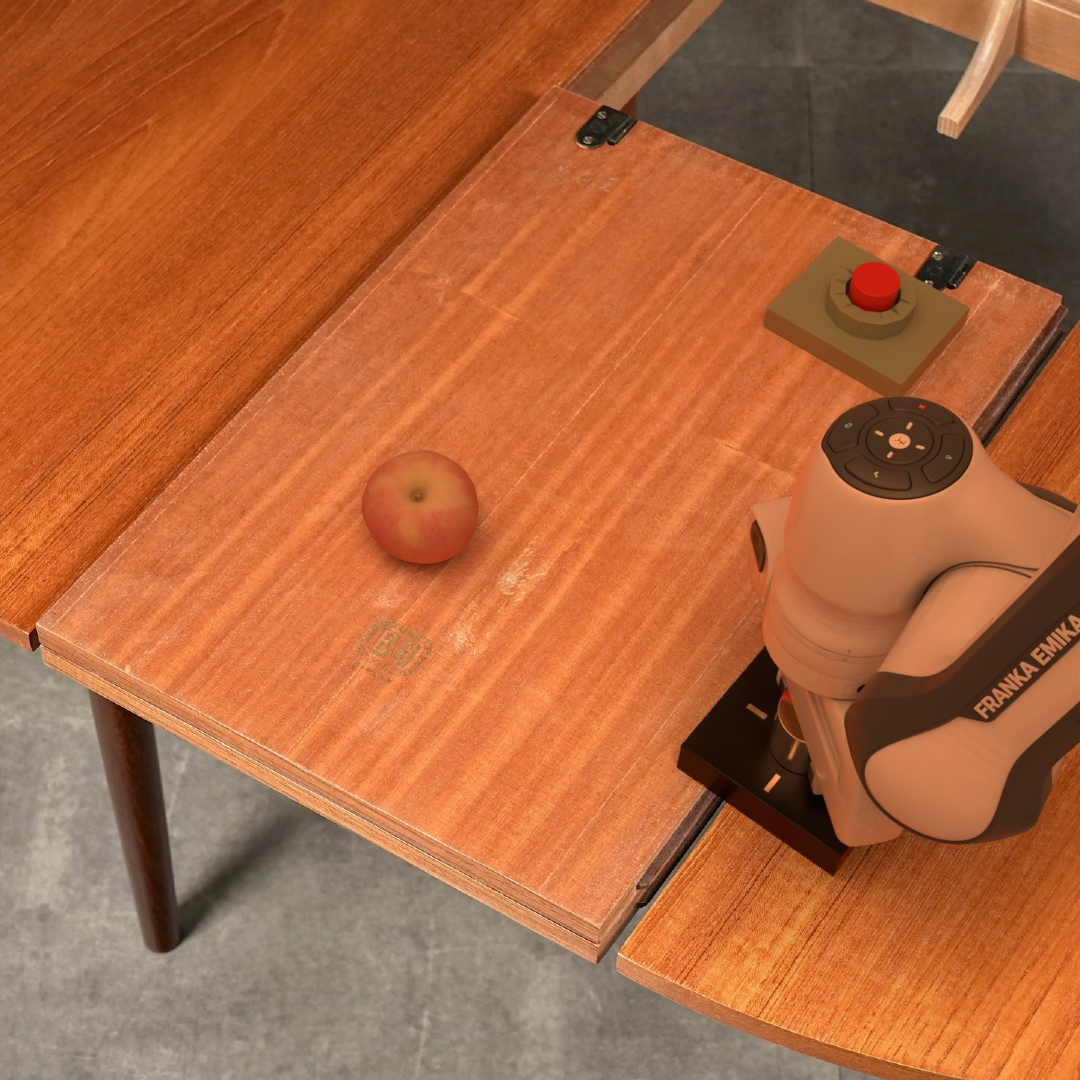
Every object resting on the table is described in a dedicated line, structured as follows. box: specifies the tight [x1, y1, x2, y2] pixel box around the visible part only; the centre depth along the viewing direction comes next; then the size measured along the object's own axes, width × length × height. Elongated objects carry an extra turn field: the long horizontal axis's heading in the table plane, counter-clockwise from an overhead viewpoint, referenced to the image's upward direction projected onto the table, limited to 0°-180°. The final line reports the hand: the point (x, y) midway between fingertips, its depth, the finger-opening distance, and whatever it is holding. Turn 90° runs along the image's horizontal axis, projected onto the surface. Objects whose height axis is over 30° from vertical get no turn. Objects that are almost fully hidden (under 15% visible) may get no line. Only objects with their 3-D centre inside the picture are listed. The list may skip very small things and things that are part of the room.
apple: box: [361, 449, 479, 565], centre depth 115 cm, size 8×8×8 cm
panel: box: [676, 645, 856, 877], centre depth 108 cm, size 12×10×3 cm
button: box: [849, 262, 900, 312], centre depth 128 cm, size 4×4×2 cm
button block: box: [763, 235, 971, 397], centre depth 130 cm, size 12×10×4 cm
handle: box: [769, 688, 812, 775], centre depth 105 cm, size 4×4×4 cm
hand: (806, 735), depth 106 cm, fingers open, 5 cm apart
